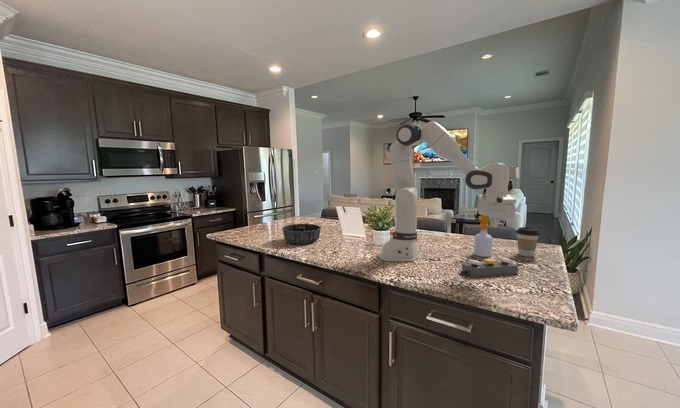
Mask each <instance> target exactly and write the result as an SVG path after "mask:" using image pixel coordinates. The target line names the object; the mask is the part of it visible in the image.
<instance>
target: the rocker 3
mask: <svg viewBox="0 0 680 408" xmlns="http://www.w3.org/2000/svg"><path fill="white" fill-rule="evenodd" d="M497 261H503V262H508V263H514V261H513V260H512V259H509V258H506V257H499V256H498V260H497Z"/></svg>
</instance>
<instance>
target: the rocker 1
mask: <svg viewBox="0 0 680 408" xmlns="http://www.w3.org/2000/svg"><path fill="white" fill-rule="evenodd" d="M467 262H468V263H472V264H476V265H482V264H483V263H482V262H483V261H482V262H481V261H479V260H475V259H468V261H467Z"/></svg>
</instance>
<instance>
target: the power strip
mask: <svg viewBox="0 0 680 408" xmlns="http://www.w3.org/2000/svg"><path fill="white" fill-rule="evenodd" d="M497 261H498V263H497V264H488V263H485V262H483V261H482V263H483V264H482V265H476V264H472V263H470V262H468V263H462V265H461V270H460V271H459V274H461V275H464V274H465V275H466V276H468V277H470V278H482V277H483V278H484V277H494V276H506V275H508V276H509V275H516V274H519V273H518V272H519V265H518V264H516V263H514V262H513V263H508V262H503V261H500V260H497Z"/></svg>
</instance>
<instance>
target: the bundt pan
mask: <svg viewBox="0 0 680 408" xmlns="http://www.w3.org/2000/svg"><path fill="white" fill-rule="evenodd" d="M281 230H282V234H283V238H284V240H285V241H286V242H287V243H289V244H293V245H295V244H296V245H305V244H306V245H309V244H310V243H315V242H317V241H318V240H319V239H320V234H321V230H322V226H321V225H319V224H315V223H293V224H287V225H284V226H282V228H281Z"/></svg>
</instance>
